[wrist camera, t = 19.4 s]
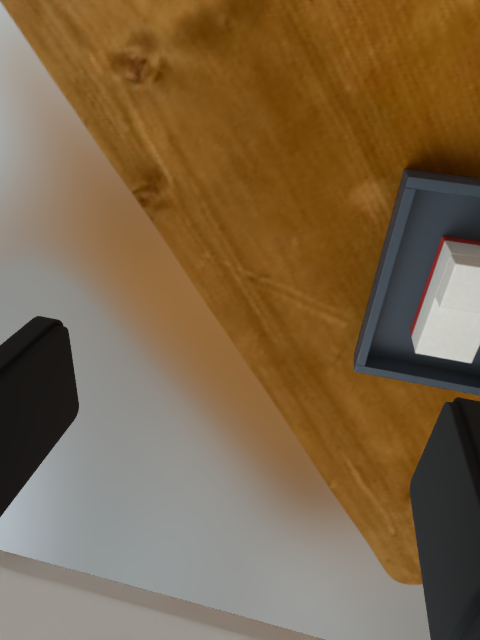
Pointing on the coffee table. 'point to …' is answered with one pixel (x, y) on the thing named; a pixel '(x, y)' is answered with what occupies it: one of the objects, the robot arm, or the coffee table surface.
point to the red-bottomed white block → (450, 303)
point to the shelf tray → (417, 280)
